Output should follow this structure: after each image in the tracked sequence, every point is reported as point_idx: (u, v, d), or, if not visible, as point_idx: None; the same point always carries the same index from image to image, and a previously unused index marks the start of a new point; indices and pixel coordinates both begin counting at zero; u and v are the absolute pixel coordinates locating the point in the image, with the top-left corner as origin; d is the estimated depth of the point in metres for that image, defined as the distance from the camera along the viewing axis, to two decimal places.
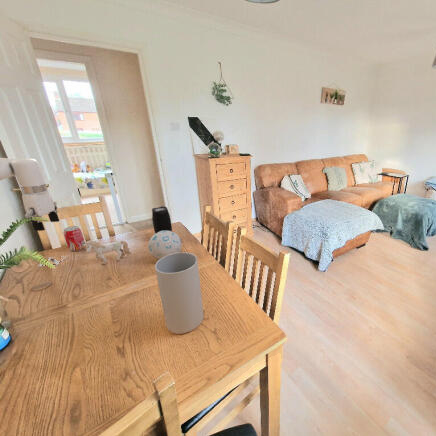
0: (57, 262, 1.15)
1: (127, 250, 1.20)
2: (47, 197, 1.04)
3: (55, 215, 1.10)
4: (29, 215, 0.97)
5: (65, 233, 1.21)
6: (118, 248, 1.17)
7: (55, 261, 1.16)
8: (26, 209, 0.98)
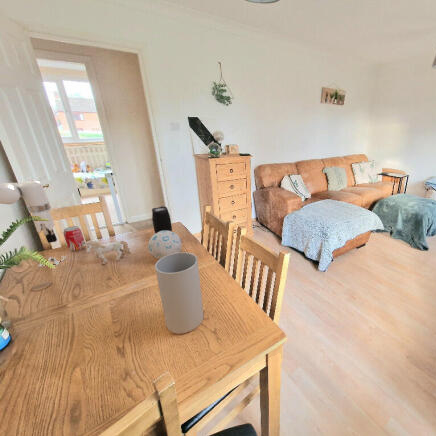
0: (57, 262, 1.15)
1: (127, 250, 1.20)
2: (50, 213, 1.18)
3: None
4: (47, 233, 1.15)
5: (65, 233, 1.21)
6: (118, 248, 1.17)
7: (55, 261, 1.16)
8: (36, 226, 1.11)
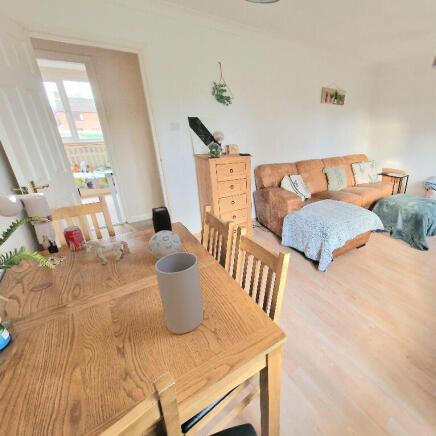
0: (57, 262, 1.15)
1: (127, 250, 1.20)
2: (52, 225, 1.18)
3: None
4: (49, 244, 1.15)
5: (65, 233, 1.21)
6: (118, 248, 1.17)
7: (55, 261, 1.16)
8: (39, 238, 1.11)
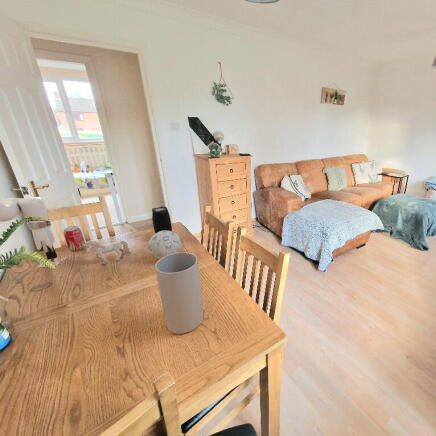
0: (57, 263, 1.15)
1: (127, 250, 1.20)
2: (50, 230, 1.14)
3: None
4: (48, 250, 1.11)
5: (65, 233, 1.21)
6: (118, 248, 1.17)
7: (55, 262, 1.16)
8: (36, 244, 1.08)
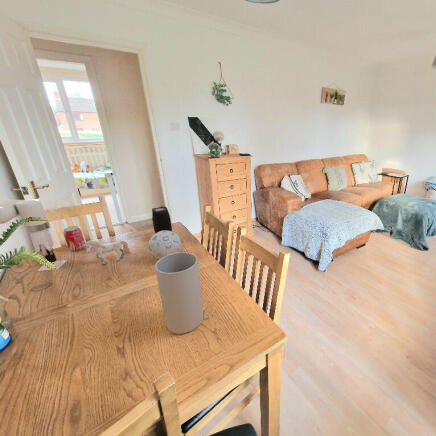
0: (57, 266, 1.12)
1: (127, 250, 1.20)
2: (49, 232, 1.11)
3: None
4: (47, 253, 1.08)
5: (65, 233, 1.21)
6: (118, 248, 1.17)
7: (55, 265, 1.13)
8: (35, 247, 1.04)
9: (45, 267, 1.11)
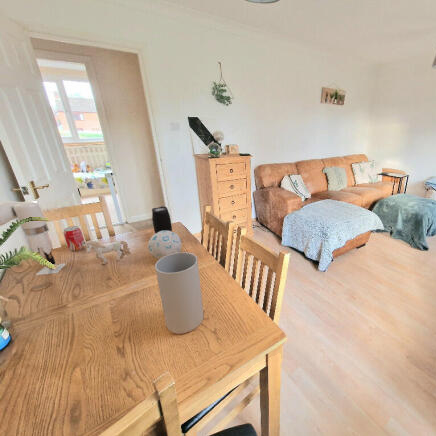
0: (56, 270, 1.10)
1: (127, 250, 1.20)
2: (48, 235, 1.08)
3: None
4: (45, 256, 1.05)
5: (65, 233, 1.21)
6: (118, 248, 1.17)
7: (54, 269, 1.10)
8: (33, 250, 1.02)
9: (44, 271, 1.09)
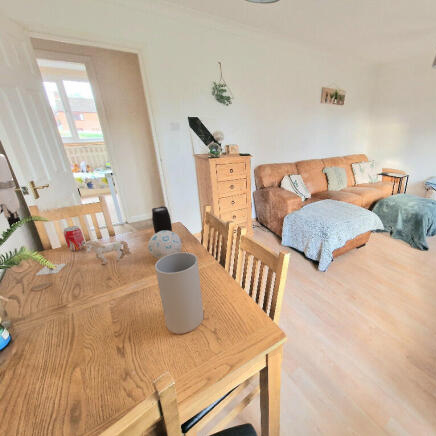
0: (56, 270, 1.10)
1: (127, 250, 1.20)
2: (14, 193, 1.00)
3: None
4: (9, 215, 0.97)
5: (65, 233, 1.21)
6: (118, 248, 1.17)
7: (54, 269, 1.10)
8: None
9: (44, 271, 1.09)
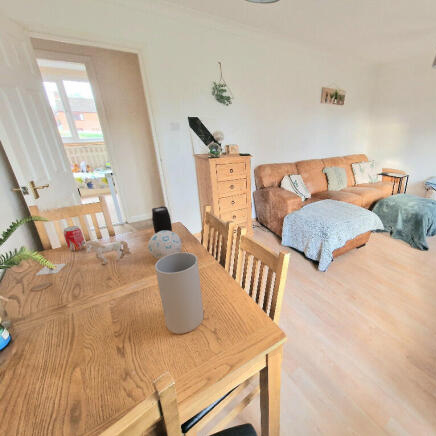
0: (56, 270, 1.10)
1: (127, 250, 1.20)
2: None
3: None
4: None
5: (65, 233, 1.21)
6: (118, 248, 1.17)
7: (54, 269, 1.10)
8: None
9: (44, 271, 1.09)
